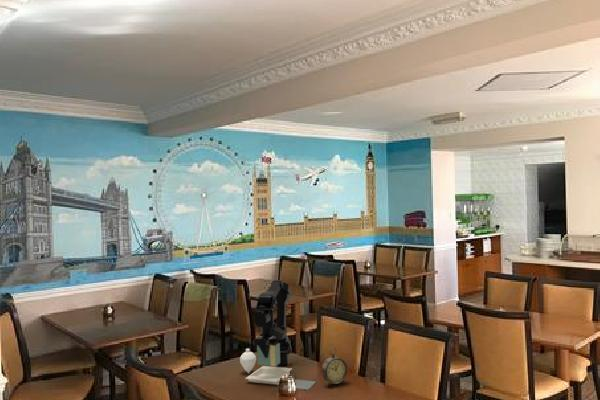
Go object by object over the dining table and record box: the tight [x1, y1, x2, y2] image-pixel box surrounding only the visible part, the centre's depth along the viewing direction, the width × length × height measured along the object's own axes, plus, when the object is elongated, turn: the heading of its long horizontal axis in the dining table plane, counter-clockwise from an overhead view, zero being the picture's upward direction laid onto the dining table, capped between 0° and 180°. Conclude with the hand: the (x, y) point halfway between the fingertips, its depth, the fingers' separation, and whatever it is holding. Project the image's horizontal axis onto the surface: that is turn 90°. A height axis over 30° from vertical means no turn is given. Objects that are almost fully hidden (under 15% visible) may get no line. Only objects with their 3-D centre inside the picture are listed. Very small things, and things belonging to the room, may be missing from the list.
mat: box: [294, 379, 317, 392], centre depth 216 cm, size 10×10×1 cm
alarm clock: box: [321, 346, 348, 388], centre depth 216 cm, size 11×5×16 cm, turn 117°
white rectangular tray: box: [245, 365, 293, 386], centre depth 225 cm, size 18×15×3 cm
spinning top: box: [239, 348, 257, 374], centre depth 234 cm, size 8×8×12 cm
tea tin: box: [256, 342, 280, 367], centre depth 226 cm, size 5×9×9 cm, turn 69°
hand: (268, 356), depth 226 cm, fingers closed on tea tin, 5 cm apart
